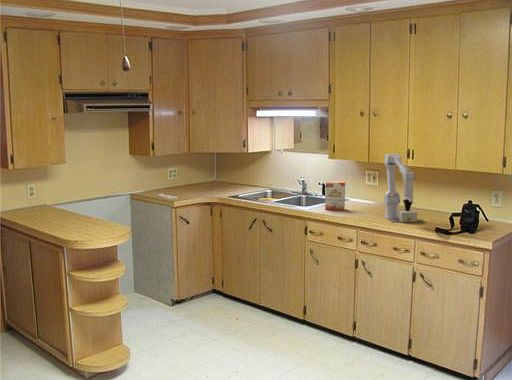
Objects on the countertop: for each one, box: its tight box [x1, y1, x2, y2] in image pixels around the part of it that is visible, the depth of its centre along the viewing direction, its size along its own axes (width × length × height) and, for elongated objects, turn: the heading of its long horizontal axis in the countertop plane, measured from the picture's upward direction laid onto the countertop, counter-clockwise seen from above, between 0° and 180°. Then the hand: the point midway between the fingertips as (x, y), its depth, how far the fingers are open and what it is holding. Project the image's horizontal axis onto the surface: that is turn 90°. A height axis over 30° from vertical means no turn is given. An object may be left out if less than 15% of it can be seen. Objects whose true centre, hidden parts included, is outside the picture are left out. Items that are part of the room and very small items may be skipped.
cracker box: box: [324, 180, 346, 211], centre depth 408 cm, size 14×6×21 cm, turn 76°
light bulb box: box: [397, 208, 418, 223], centre depth 369 cm, size 11×7×11 cm
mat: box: [389, 218, 426, 223], centre depth 369 cm, size 8×22×1 cm, turn 89°
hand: (407, 211), depth 357 cm, fingers closed
